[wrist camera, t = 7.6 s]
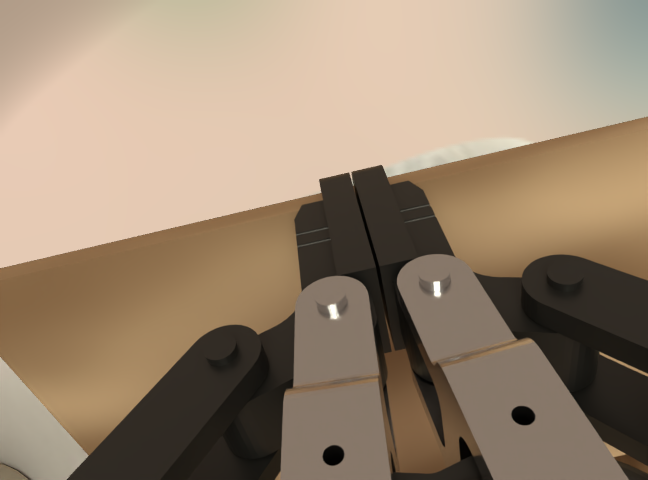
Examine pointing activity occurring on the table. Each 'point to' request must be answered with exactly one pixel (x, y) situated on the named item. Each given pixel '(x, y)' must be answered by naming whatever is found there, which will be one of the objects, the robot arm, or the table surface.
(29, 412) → the table surface
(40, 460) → the table surface
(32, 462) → the table surface
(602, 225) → the flap
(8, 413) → the table surface
